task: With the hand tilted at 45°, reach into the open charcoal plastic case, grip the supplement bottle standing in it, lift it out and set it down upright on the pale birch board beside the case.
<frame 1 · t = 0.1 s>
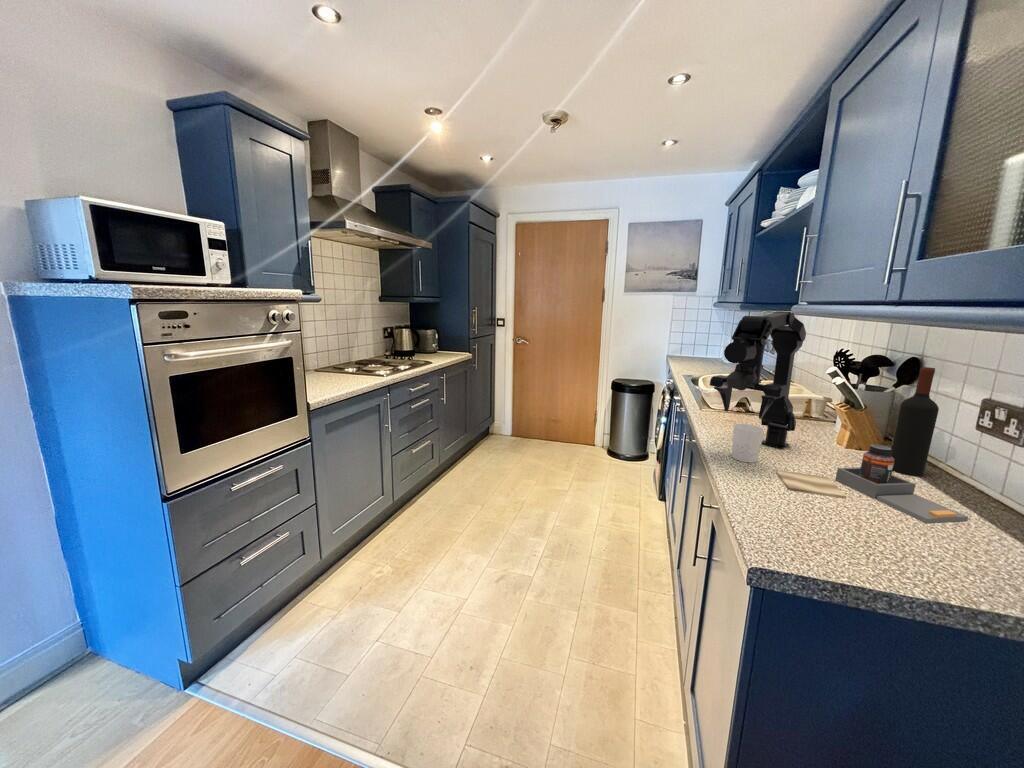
hand: (742, 414, 116), 15 cm above the worktop, tool pointing down, fingers open, 9 cm apart
supplement bottle: (872, 489, 104), resting in case
white cup: (744, 459, 122), on the worktop
wine bottle: (904, 471, 116), on the worktop
case: (872, 488, 104), on the worktop
board: (808, 484, 105), on the worktop
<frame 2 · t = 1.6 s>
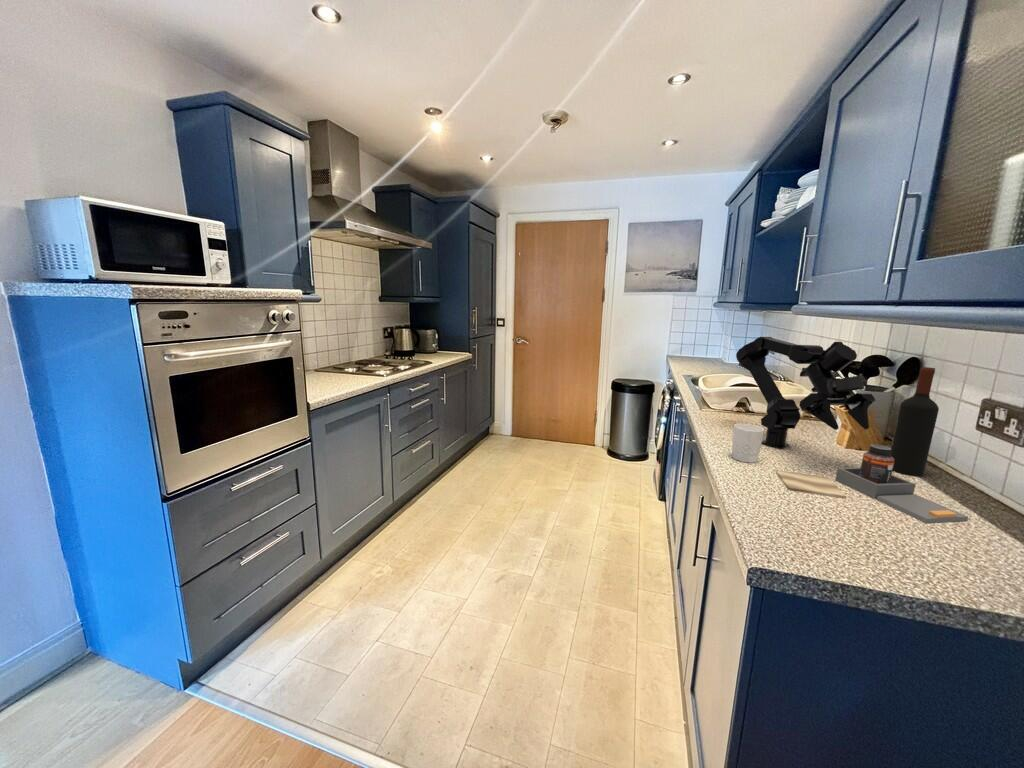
hand: (852, 428, 109), 13 cm above the worktop, tool tilted 45°, fingers open, 9 cm apart
nothing on the worktop moved.
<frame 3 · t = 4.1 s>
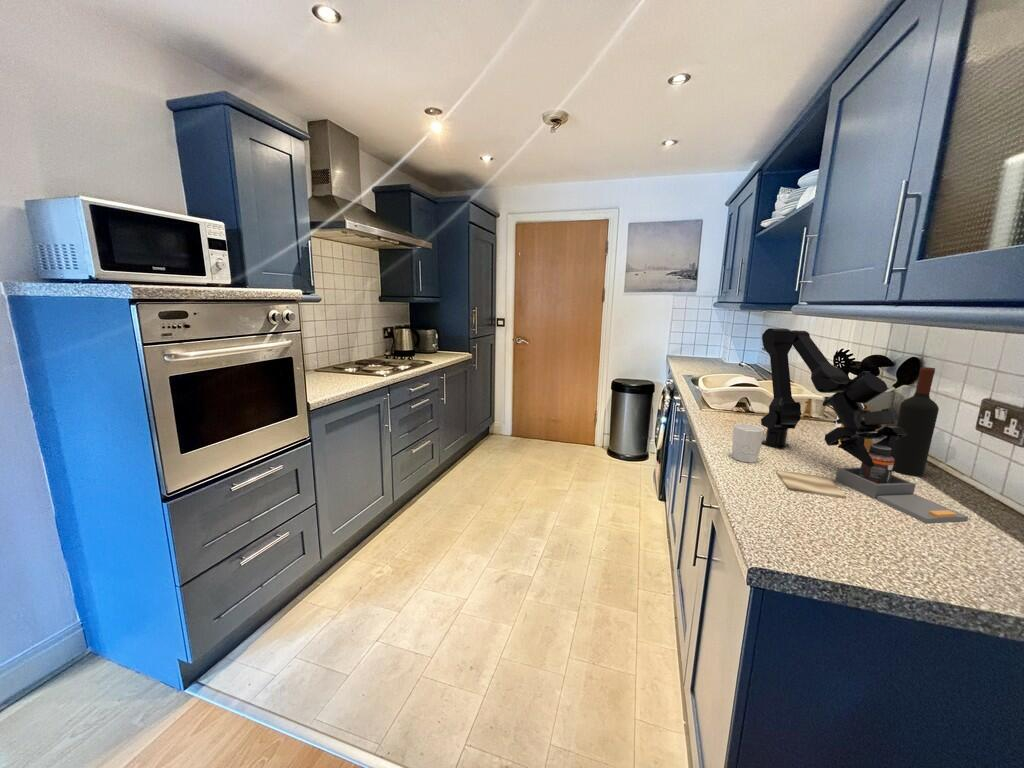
hand: (883, 466, 101), 7 cm above the worktop, tool tilted 45°, fingers closed on supplement bottle, 6 cm apart
supplement bottle: (872, 489, 104), resting in case, touching gripper
everything else where it was.
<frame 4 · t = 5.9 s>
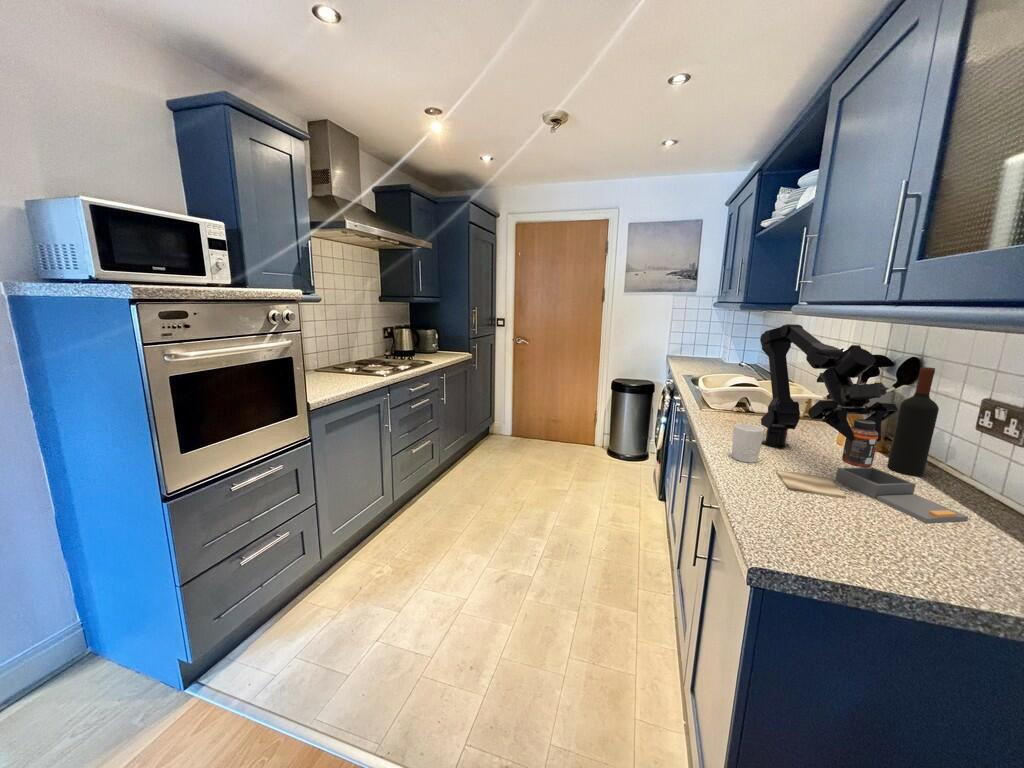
hand: (865, 440, 100), 13 cm above the worktop, tool tilted 45°, fingers closed on supplement bottle, 6 cm apart
supplement bottle: (856, 464, 102), point 6 cm above the worktop, touching gripper
everything else where it was.
when the fingers open (8 cm above the worktop, at t = 8.2 s): supplement bottle drops 1 cm, resting on board.
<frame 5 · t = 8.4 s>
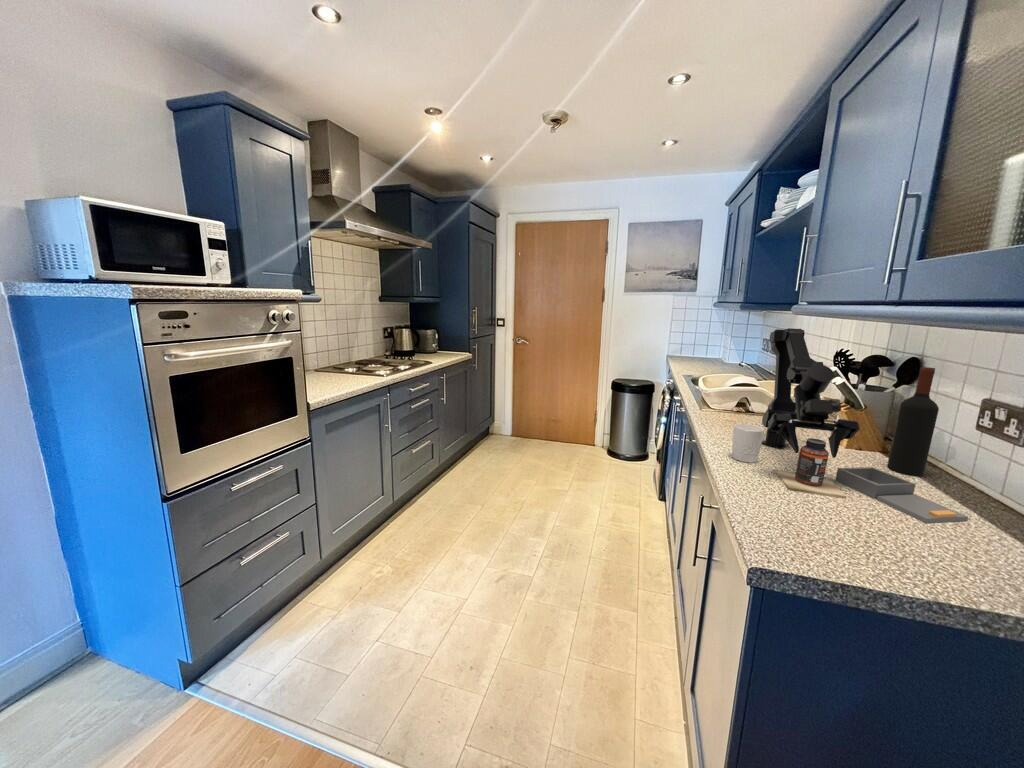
hand: (815, 454, 102), 9 cm above the worktop, tool tilted 45°, fingers open, 8 cm apart
supplement bottle: (808, 482, 105), resting on board
everything else where it was.
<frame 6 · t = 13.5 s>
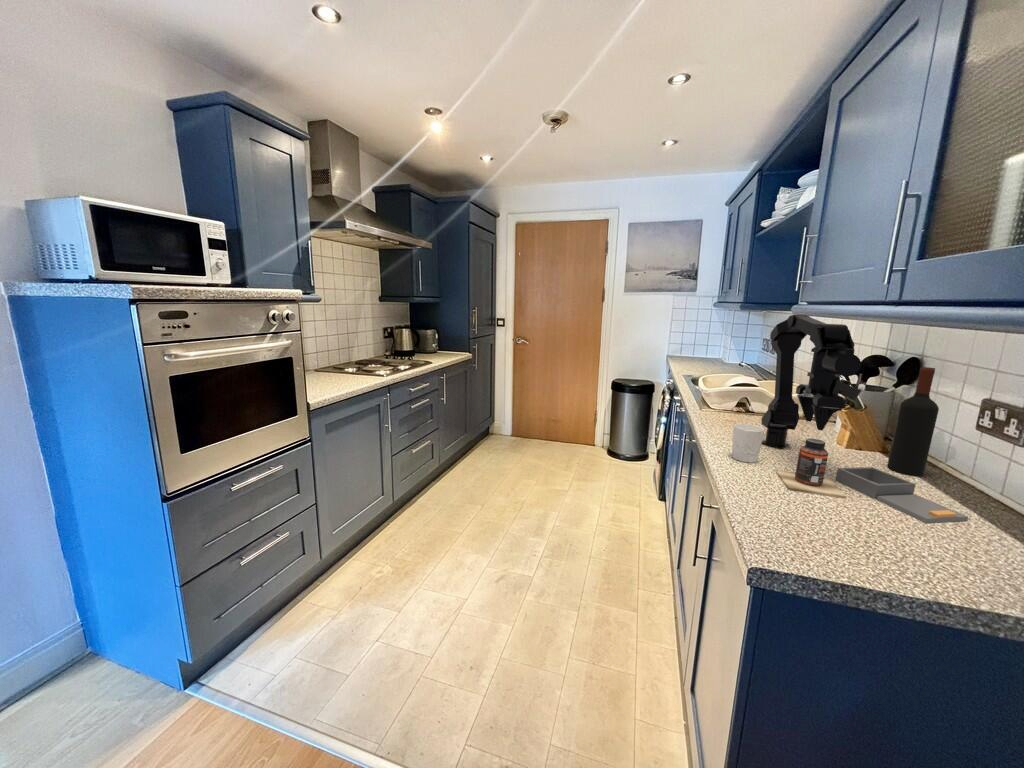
hand: (814, 425, 113), 13 cm above the worktop, tool pointing down, fingers open, 9 cm apart
nothing on the worktop moved.
at the end: supplement bottle inside the target area on the board (0.1 cm from its centre), point 0.4 cm above the board's base; supplement bottle tilted 0°; the gripper is holding nothing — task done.
